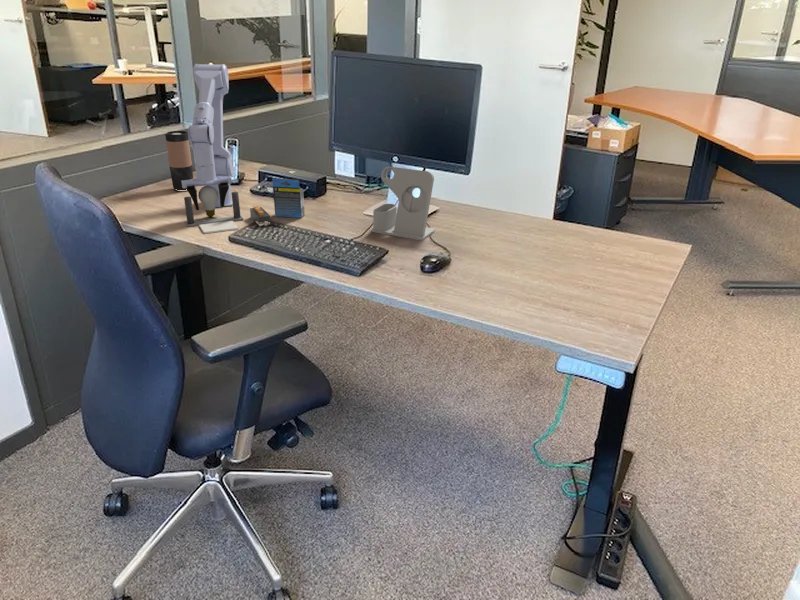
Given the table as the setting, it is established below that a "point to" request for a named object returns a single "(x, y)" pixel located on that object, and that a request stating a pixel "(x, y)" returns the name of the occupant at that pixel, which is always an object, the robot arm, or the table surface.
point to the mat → (218, 227)
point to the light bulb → (208, 199)
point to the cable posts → (191, 221)
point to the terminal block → (259, 214)
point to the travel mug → (179, 157)
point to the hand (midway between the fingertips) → (209, 208)
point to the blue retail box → (288, 198)
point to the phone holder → (405, 205)
